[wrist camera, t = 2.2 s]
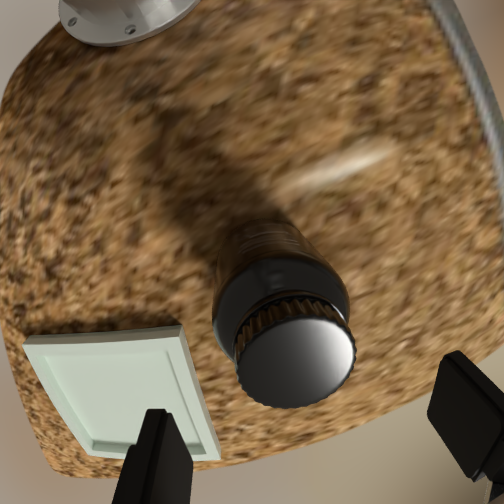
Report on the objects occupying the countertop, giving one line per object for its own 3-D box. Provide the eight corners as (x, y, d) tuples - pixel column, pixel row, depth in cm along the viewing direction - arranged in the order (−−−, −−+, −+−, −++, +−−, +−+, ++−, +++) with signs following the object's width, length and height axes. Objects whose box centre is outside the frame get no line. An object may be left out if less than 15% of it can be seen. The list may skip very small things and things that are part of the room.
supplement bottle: (203, 287, 23) (181, 402, 11) (239, 201, 21) (248, 251, 9) (287, 317, 24) (326, 434, 12) (326, 239, 22) (411, 315, 11)
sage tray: (30, 335, 23) (21, 344, 21) (182, 324, 23) (178, 336, 22) (92, 444, 28) (88, 455, 26) (220, 447, 28) (220, 459, 26)
